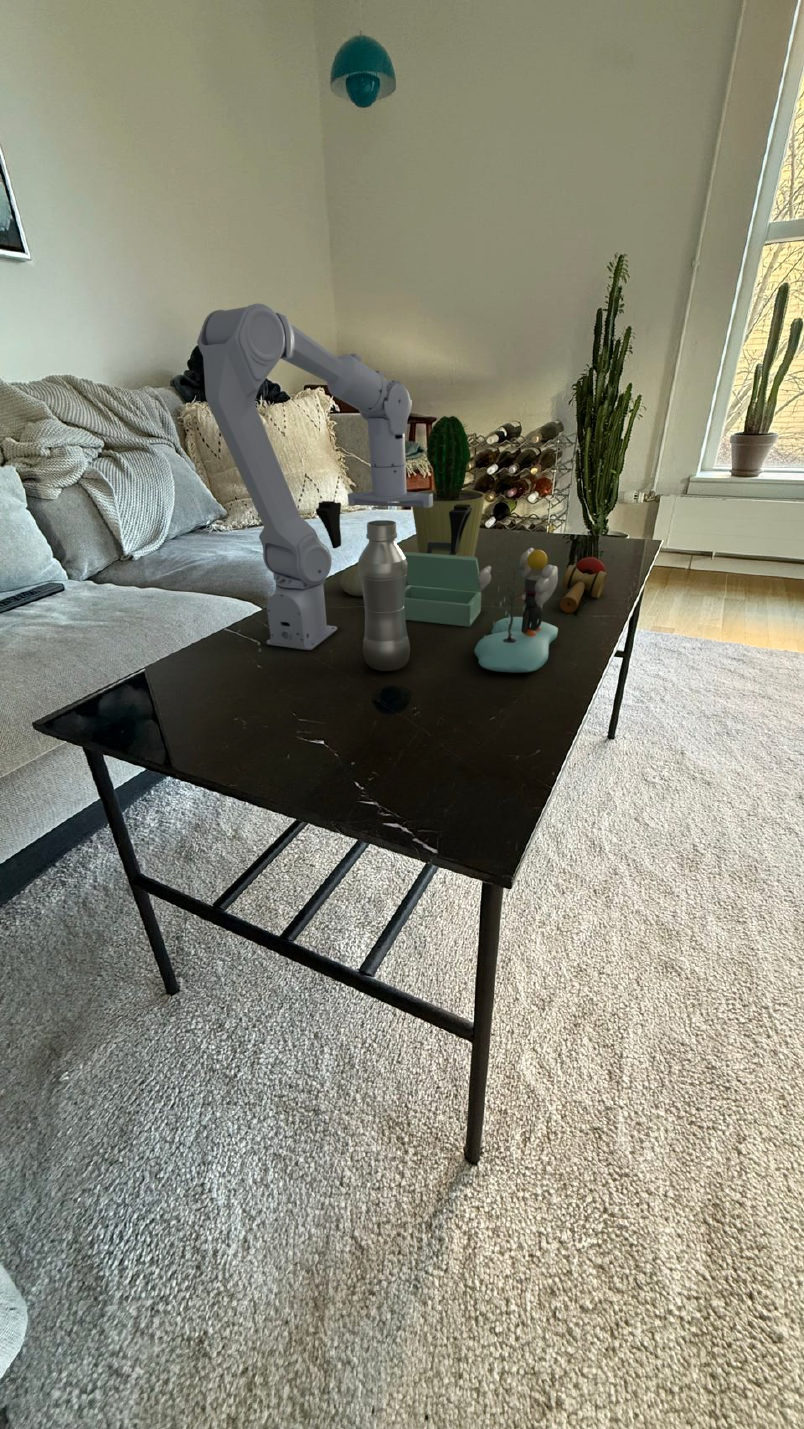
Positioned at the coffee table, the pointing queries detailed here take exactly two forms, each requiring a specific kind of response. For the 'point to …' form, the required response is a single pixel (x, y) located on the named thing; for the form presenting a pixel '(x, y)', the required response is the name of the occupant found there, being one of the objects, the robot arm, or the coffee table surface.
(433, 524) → the potted cactus
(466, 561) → the lid
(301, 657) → the coffee table surface
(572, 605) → the kendama
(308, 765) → the coffee table surface
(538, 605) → the figurine on blue base
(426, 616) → the teal open box
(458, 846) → the coffee table surface
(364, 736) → the coffee table surface
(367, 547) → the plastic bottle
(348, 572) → the sea urchin shell
